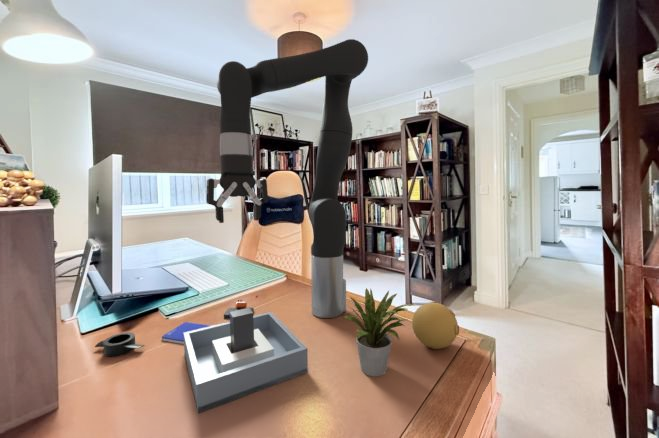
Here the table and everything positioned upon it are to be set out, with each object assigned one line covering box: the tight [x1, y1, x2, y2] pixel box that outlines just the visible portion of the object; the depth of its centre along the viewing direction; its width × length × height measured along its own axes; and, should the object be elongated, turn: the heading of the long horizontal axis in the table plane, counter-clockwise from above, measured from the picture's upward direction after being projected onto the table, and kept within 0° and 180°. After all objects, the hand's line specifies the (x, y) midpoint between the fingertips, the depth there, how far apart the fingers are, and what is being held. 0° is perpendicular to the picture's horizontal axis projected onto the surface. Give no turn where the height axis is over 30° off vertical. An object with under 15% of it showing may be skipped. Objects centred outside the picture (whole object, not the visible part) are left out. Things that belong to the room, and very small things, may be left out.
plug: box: [229, 307, 254, 354], centre depth 61 cm, size 4×3×10 cm
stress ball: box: [411, 302, 460, 350], centre depth 67 cm, size 10×10×10 cm
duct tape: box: [94, 332, 146, 358], centre depth 66 cm, size 8×10×3 cm
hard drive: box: [161, 321, 211, 345], centre depth 73 cm, size 2×8×12 cm
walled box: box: [183, 311, 309, 414], centre depth 61 cm, size 20×20×5 cm
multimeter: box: [223, 294, 259, 319], centre depth 91 cm, size 18×12×3 cm, turn 177°
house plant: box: [344, 287, 414, 377], centre depth 57 cm, size 14×14×16 cm
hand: (239, 221), depth 72 cm, fingers open, 8 cm apart
